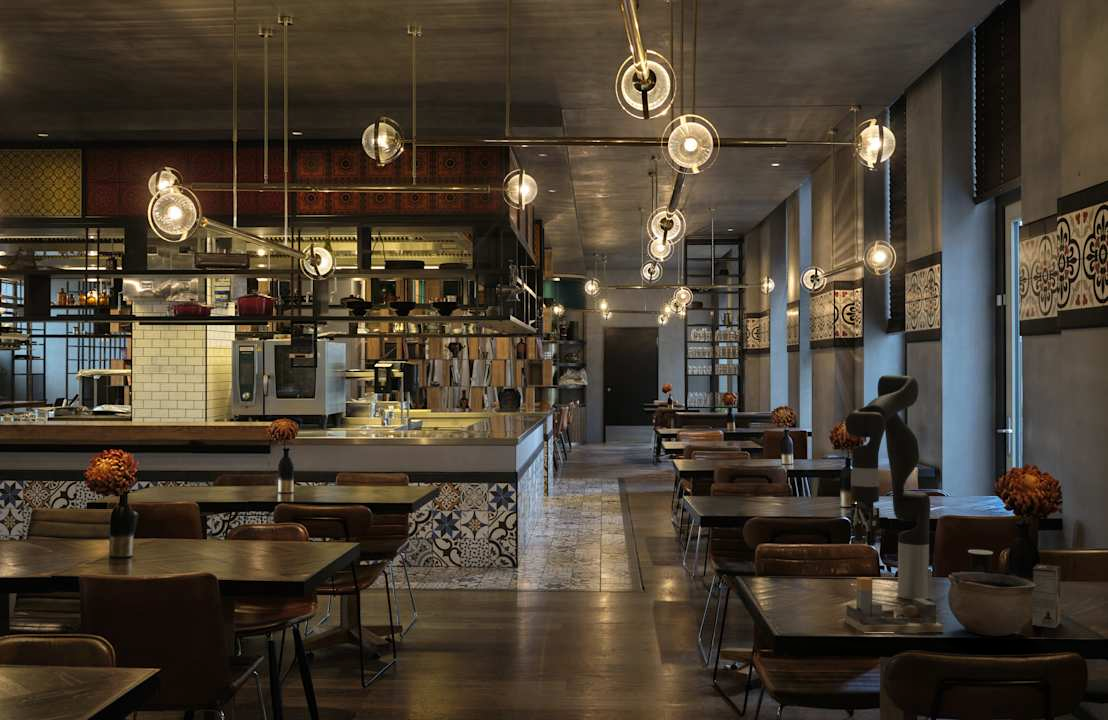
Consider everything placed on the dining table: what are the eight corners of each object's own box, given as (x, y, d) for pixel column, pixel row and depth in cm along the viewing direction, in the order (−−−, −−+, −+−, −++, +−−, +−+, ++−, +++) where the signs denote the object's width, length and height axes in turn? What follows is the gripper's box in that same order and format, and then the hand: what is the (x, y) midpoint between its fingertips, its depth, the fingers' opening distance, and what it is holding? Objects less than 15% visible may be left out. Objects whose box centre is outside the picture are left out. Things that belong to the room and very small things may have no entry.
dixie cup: (974, 586, 347) (974, 553, 348) (963, 581, 355) (963, 549, 355) (997, 586, 348) (997, 553, 348) (985, 581, 356) (985, 549, 356)
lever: (873, 616, 289) (874, 575, 289) (884, 621, 282) (885, 580, 282) (853, 616, 288) (853, 575, 288) (863, 622, 281) (863, 580, 281)
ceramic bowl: (938, 622, 292) (938, 569, 292) (1017, 625, 290) (1018, 571, 290) (961, 641, 270) (962, 584, 270) (1048, 645, 268) (1048, 587, 268)
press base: (919, 621, 294) (919, 596, 294) (943, 632, 280) (943, 606, 280) (845, 621, 291) (845, 596, 292) (864, 633, 277) (865, 607, 278)
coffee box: (1036, 619, 298) (1036, 563, 298) (1060, 622, 294) (1060, 565, 295) (1031, 625, 290) (1031, 568, 290) (1056, 628, 287) (1057, 570, 287)
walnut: (914, 618, 288) (914, 603, 288) (920, 621, 284) (920, 606, 284) (900, 618, 288) (900, 603, 288) (906, 621, 284) (906, 606, 284)
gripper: (888, 486, 279) (888, 546, 279) (867, 481, 293) (867, 539, 293) (862, 486, 278) (861, 547, 278) (842, 481, 292) (841, 539, 292)
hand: (864, 542), depth 285 cm, fingers open, 8 cm apart
